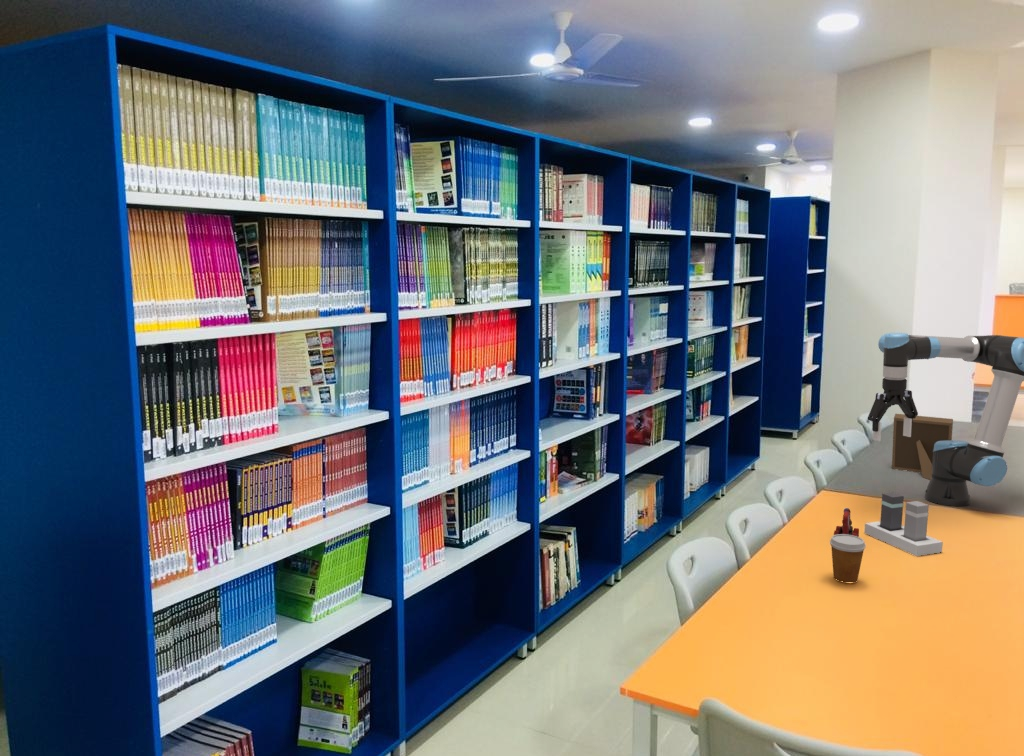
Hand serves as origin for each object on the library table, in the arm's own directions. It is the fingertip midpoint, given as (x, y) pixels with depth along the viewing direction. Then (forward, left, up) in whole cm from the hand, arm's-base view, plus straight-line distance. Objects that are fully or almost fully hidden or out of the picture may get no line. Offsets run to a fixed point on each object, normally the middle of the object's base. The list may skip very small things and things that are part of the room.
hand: (891, 438), depth 273 cm
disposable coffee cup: (+51, +38, -29) cm, 70 cm away
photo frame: (-57, -42, -29) cm, 76 cm away
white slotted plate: (+13, +20, -29) cm, 38 cm away
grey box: (+13, +15, -29) cm, 35 cm away
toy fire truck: (+29, +13, -30) cm, 43 cm away
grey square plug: (+13, +25, -29) cm, 41 cm away
